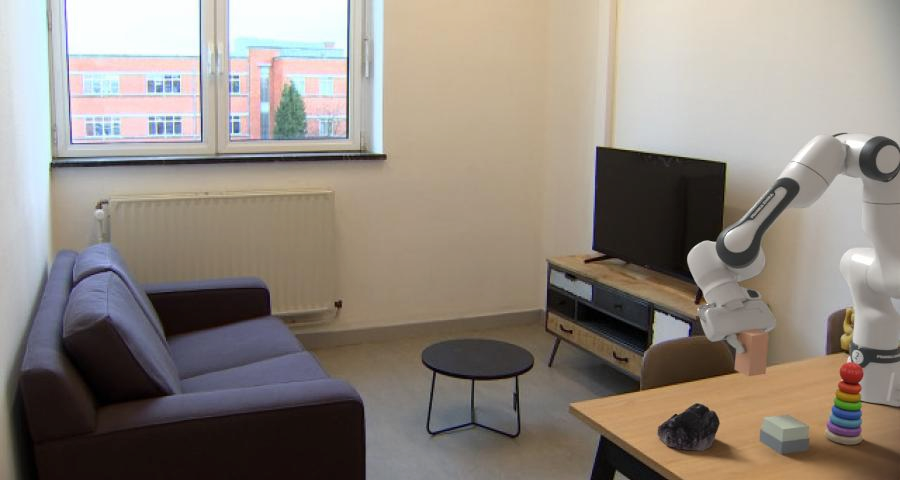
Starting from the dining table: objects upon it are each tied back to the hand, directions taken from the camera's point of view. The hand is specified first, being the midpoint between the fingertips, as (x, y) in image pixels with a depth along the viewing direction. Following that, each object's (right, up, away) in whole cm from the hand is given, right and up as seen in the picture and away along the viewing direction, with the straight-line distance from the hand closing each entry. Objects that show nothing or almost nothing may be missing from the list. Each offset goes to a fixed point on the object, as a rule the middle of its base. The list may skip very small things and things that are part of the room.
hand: (753, 350), depth 209 cm
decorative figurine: (+53, -9, +61) cm, 81 cm away
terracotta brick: (0, -5, +2) cm, 5 cm away
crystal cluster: (-17, -20, -6) cm, 27 cm away
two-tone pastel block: (+4, -21, -8) cm, 23 cm away
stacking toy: (+20, -20, -4) cm, 29 cm away
